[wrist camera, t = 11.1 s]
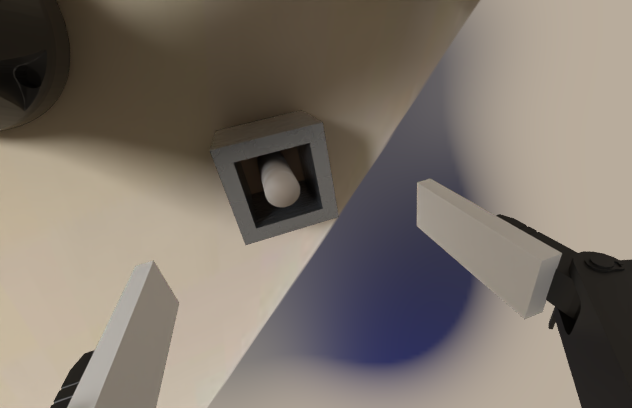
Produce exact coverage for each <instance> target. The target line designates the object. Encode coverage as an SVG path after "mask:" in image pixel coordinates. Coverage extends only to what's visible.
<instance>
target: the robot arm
mask: <svg viewBox="0 0 632 408" xmlns="http://www.w3.org/2000/svg"><path fill="white" fill-rule="evenodd" d="M69 65H70V48H69V40H68V35H67V30H66V27H65V23H64V20H63V17H62V14H61V12H60V9H59V7H58V4H57V2H56V0H0V131H2V130H6V129H10V128H14V127H17V126H20V125H23V124H26V123H28V122H30V121H32V120H34V119H36V118H38V117H39V116H41V115H42V114H43V113H45V112H46V111H47V110H48V109H49V108H50V107H51V106H52V105H53V104H54V103H55V101H56V100H57V99H58V97H59V96H60V94H61V92H62V90H63V88H64V86H65V83H66V80H67V77H68V72H69ZM417 227H418V228H420V229H421V230H422V231H423V232H424V233H425V234H427V235H428V236H429V237H430V238H432V240H433V241H435V242H436V243H437V244H438V245H439V246H440V247H442V248H443V249H444V250H445V251H446V252H447V253H449V254H450V255H451V256H452V257H453V258H454V259H456V260H457V261H458V262H459V263H460V264H461V265H462V266H464V267H465V268H466V269H467V270H468V271H469V272H471V273H472V274H473V275H474V276H475V277H476V278H478V279H479V280H480V281H481V282H482V283H483V284H484V285H486V286H487V287H488V288H489V289H490V290H491V291H493V292H494V293H495V294H496V295H497V296H498V297H499V298H501V299H502V300H503V301H504V302H505V303H506V304H508V305H509V306H510V307H511V308H512V309H513V310H515V311H516V312H517V313H518V314H519V315H520V316H521V317H523V318H524V319H526V318H529V317H531V316H534V315H536V314H539V313H541V312H542V311H543V308H544V305H545V303H546V300H547V301H549V302H550V303H551V304H553V305H554V306H555V308H554V311H553V313H552V316H551V319H550V321H549V329H553V327H554V324H555V323H557V327H558V331H559V333H560V337H561V340H562V343H563V347H564V350H565V353H566V357H567V360H568V363H569V367H570V370H571V373H572V377H573V380H574V383H575V387H576V390H577V393H578V397H579V400H580V403H581V407H582V408H632V260H618V259H616V258H614V257H611V256H608V255H606V254H602V253H597V252H580V253H577V252H575V251H573V250H571V249H570V248H568V247H566V246H564V245H562V244H560V243H558V242H557V241H555V240H553V239H551V238H549V237H547V236H545V235H543V234H542V233H540V232H536V230H534V229H532V228H531V227H527V226H526V225H525V224H523V223H521V222H519V221H518V220H516V219H514V218H510V217H507V216H504V215H497V216H495V215H494V214H492V213H490V212H488V211H486V210H485V209H483V208H481V207H480V206H478V205H476V204H474V203H472V202H471V201H469V200H467V199H465V198H464V197H462V196H460V195H458V194H457V193H454V192H453V191H451V190H449V189H447V188H446V187H444V186H442V185H441V184H439V183H437V182H435V181H434V180H432V179H427V180H424V181H420V182H418V183H417ZM178 306H179V302H178V300H177V298H176V297H175V295H174V293H173V292H172V290H171V288H170V287H169V285H168V283H167V282H166V280H165V278H164V277H163V275H162V274H161V272H160V270H159V269H158V267H157V265H156V264H155V262H154V261H150V262H147V263H143V264H140V265H137V266H135V268H134V270H133V272H132V274H131V276H130V278H129V280H128V282H127V285H126V287H125V289H124V291H123V293H122V295H121V297H120V299H119V301H118V303H117V305H116V307H115V309H114V311H113V314H112V316H111V318H110V320H109V322H108V324H107V326H106V328H105V330H104V332H103V334H102V336H101V338H100V341H99V343H98V345H97V347H96V349H95V350H94V351H91V352H88V353H85V354H84V355H83V356H82V357H81V358H80V359H79V361H78V362H77V363H76V364H75V365H74V366H73V368H72V369H71V370H70V372H69V374H68V375H67V377H66V379H65V381H64V383H63V385H62V387H61V388H62V389H61V390H60V391H59V392H58V394H57V396H56V398H55V400H54V405H51V407H50V408H156V405H157V401H158V396H159V392H160V387H161V383H162V378H163V374H164V369H165V365H166V360H167V356H168V351H169V347H170V342H171V338H172V333H173V329H174V324H175V320H176V315H177V311H178Z"/></svg>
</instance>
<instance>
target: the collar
mask: <svg viewBox="0 0 632 408" xmlns="http://www.w3.org/2000/svg"><path fill="white" fill-rule="evenodd" d="M296 146H297V149H298V154H299V158H300V163H301V167H302V172H303V176H304V180H301V181H298V183H299V185H300V195H299V197H298V199H297V200H296V201H295V202H294V203H293V204H292V205H290V206H287V207H276V206H274V205H272V204H271V203H269V202H268V200H267V198H266V196H265V192H264V191H261V192H257V193H254V194H251V191H250V188H249V185H248V182H247V179H246V176H245V173H244V170H243V167H242V164H241V160H245V159H249V158H253V157H257V156H261V155H265V154H268V153H272V152H276V151H280V150H284V149H288V148H292V147H296ZM210 153H211V155H212V158H213V161H214V163H215V166H216V168H217V171H218V174H219V176H220V179H221V182H222V184H223V187H224V189H225V192H226V195H227V197H228V200H229V203H230V205H231V208H232V210H233V213H234V216H235V218H236V221H237V224H238V226H239V229H240V231H241V234H242V237H243V239H244V242H245V245H248V244H251V243H255V242H258V241H261V240H264V239H268V238H271V237H274V236H277V235H281V234H284V233H287V232H291V231H294V230H297V229H300V228H304V227H307V226H310V225H314V224H317V223H320V222H323V221H327V220H330V219H333V218H337V217H339V216H338V210H337V204H336V198H335V192H334V186H333V180H332V174H331V168H330V163H329V157H328V151H327V145H326V139H325V133H324V127H323V122H321V121H320V120H318V119H316V118H314V117H313V116H311V115H309V114H308V113H306V112H304V111H302V110H300V111H296V112H292V113H288V114H284V115H280V116H275V117H271V118H267V119H263V120H259V121H254V122H250V123H246V124H242V125H238V126H234V127H229V128H225V129H221V130H217V131H216V132H215V135H214V138H213V141H212V145H211V148H210Z"/></svg>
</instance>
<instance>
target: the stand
mask: <svg viewBox="0 0 632 408" xmlns="http://www.w3.org/2000/svg"><path fill="white" fill-rule="evenodd" d="M241 164H242V167H243V170H244V173H245V176H246V179H247V182H248V185H249V188H250V191H251V194H254V193H257V192H261V191H264V192H265V196H266V198H267V200H268V202H269V203H271V204H272V205H274V206H276V207H287V206H290V205H292V204H293V203H294V202H295V201H296V200H297V199H298V197H299V195H300V185H299V183H298V181H301V180H304V176H303V172H302V167H301V163H300V158H299V154H298V149H297V146H296V147H292V148H288V149H284V150H280V151H276V152H272V153H268V154H265V155H261V156H257V157H253V158H249V159H245V160H241Z"/></svg>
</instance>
